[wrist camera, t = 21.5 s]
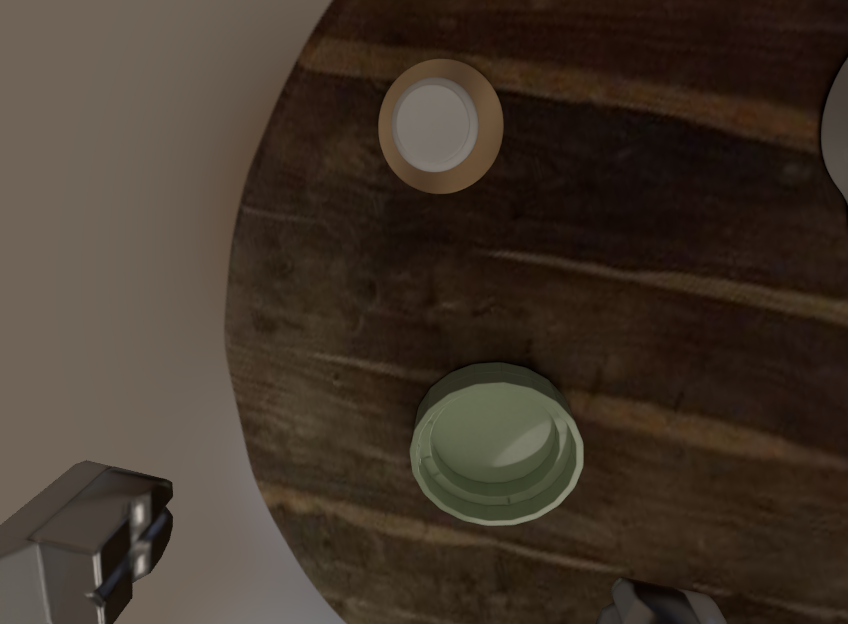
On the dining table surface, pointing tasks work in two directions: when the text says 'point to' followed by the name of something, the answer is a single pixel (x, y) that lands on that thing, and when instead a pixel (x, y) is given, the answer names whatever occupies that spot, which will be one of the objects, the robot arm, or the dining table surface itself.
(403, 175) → the coaster
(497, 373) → the bowl
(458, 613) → the dining table surface
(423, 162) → the pill bottle
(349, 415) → the dining table surface
